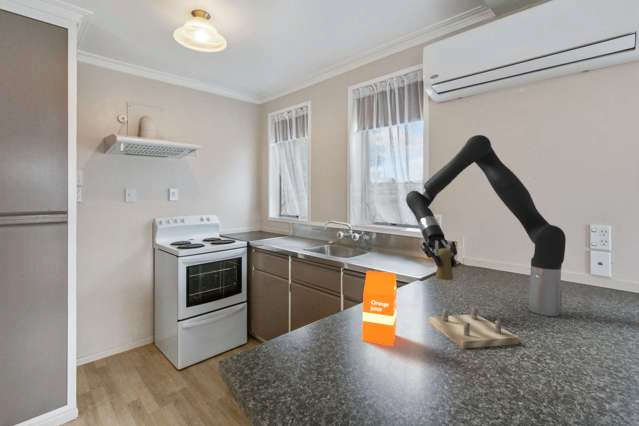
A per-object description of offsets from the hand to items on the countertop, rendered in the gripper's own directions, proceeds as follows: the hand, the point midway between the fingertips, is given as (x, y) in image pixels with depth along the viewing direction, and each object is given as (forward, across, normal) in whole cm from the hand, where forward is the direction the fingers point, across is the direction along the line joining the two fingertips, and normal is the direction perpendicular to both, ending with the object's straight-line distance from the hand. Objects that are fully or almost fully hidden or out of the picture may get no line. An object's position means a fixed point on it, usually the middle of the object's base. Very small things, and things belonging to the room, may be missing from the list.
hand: (447, 265), depth 112 cm
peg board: (+24, -2, +1) cm, 24 cm away
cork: (+2, 0, +5) cm, 6 cm away
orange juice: (+23, -32, +2) cm, 40 cm away
